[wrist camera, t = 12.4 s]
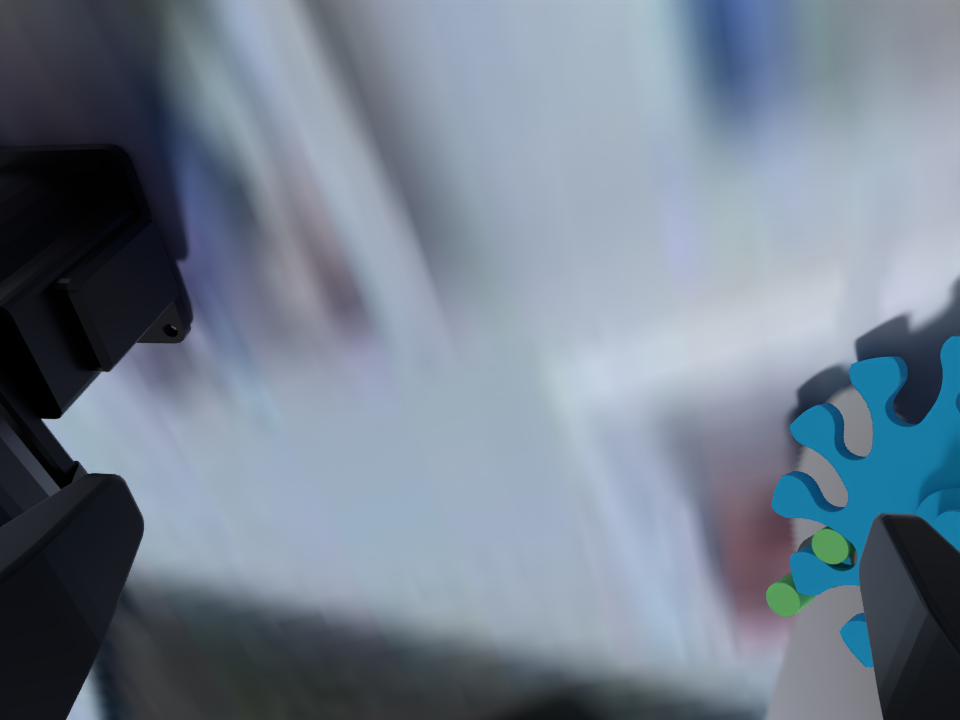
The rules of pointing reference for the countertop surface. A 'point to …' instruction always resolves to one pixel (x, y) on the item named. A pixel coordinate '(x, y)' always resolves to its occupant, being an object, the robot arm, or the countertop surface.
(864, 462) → the gear
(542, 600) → the countertop surface
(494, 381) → the countertop surface
